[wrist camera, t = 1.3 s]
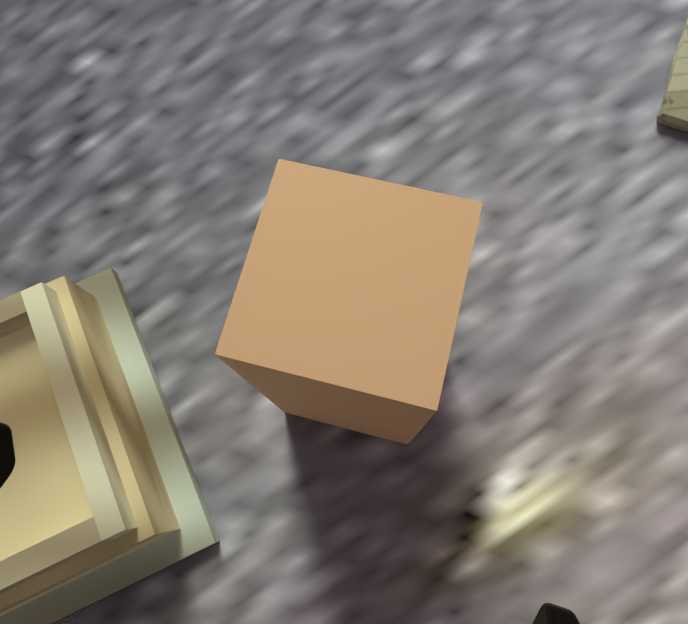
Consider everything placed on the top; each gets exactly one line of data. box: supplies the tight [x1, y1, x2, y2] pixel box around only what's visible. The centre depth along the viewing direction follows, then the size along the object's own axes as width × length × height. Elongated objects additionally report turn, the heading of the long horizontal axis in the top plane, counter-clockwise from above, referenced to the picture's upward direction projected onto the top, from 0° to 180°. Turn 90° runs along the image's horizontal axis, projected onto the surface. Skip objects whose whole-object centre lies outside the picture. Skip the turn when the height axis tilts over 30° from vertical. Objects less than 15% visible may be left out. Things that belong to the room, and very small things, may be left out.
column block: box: [215, 159, 483, 445], centre depth 19 cm, size 5×5×11 cm
